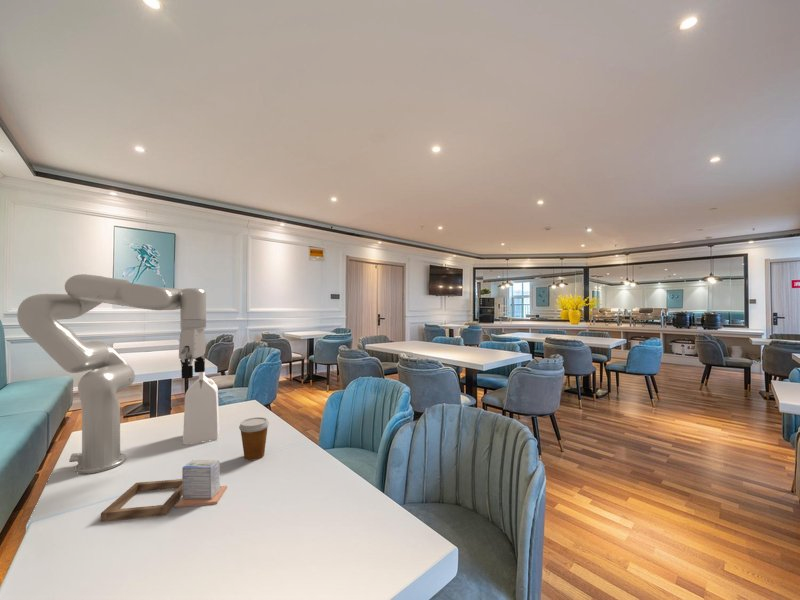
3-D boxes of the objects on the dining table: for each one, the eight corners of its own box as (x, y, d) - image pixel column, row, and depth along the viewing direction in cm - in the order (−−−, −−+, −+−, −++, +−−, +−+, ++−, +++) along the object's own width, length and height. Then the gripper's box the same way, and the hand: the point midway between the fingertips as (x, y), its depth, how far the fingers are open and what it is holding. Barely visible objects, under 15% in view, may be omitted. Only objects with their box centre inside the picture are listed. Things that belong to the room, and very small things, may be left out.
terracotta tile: (175, 507, 90) (175, 505, 90) (189, 490, 98) (189, 488, 98) (216, 503, 91) (216, 501, 91) (227, 487, 99) (227, 485, 99)
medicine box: (220, 490, 97) (220, 459, 97) (211, 499, 92) (211, 467, 92) (192, 490, 97) (192, 459, 97) (181, 499, 92) (181, 467, 92)
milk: (187, 434, 140) (186, 369, 140) (219, 429, 145) (219, 367, 145) (182, 445, 129) (182, 375, 129) (217, 439, 134) (217, 372, 134)
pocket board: (100, 521, 84) (100, 513, 84) (136, 489, 98) (136, 482, 98) (165, 515, 86) (165, 507, 86) (191, 485, 101) (191, 478, 101)
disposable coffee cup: (258, 463, 114) (258, 427, 114) (232, 461, 116) (232, 425, 116) (274, 451, 123) (274, 417, 123) (250, 449, 125) (250, 416, 125)
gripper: (192, 323, 126) (192, 370, 126) (168, 326, 109) (168, 381, 109) (214, 323, 128) (214, 369, 128) (194, 326, 111) (194, 380, 110)
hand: (193, 374), depth 118 cm, fingers open, 9 cm apart
